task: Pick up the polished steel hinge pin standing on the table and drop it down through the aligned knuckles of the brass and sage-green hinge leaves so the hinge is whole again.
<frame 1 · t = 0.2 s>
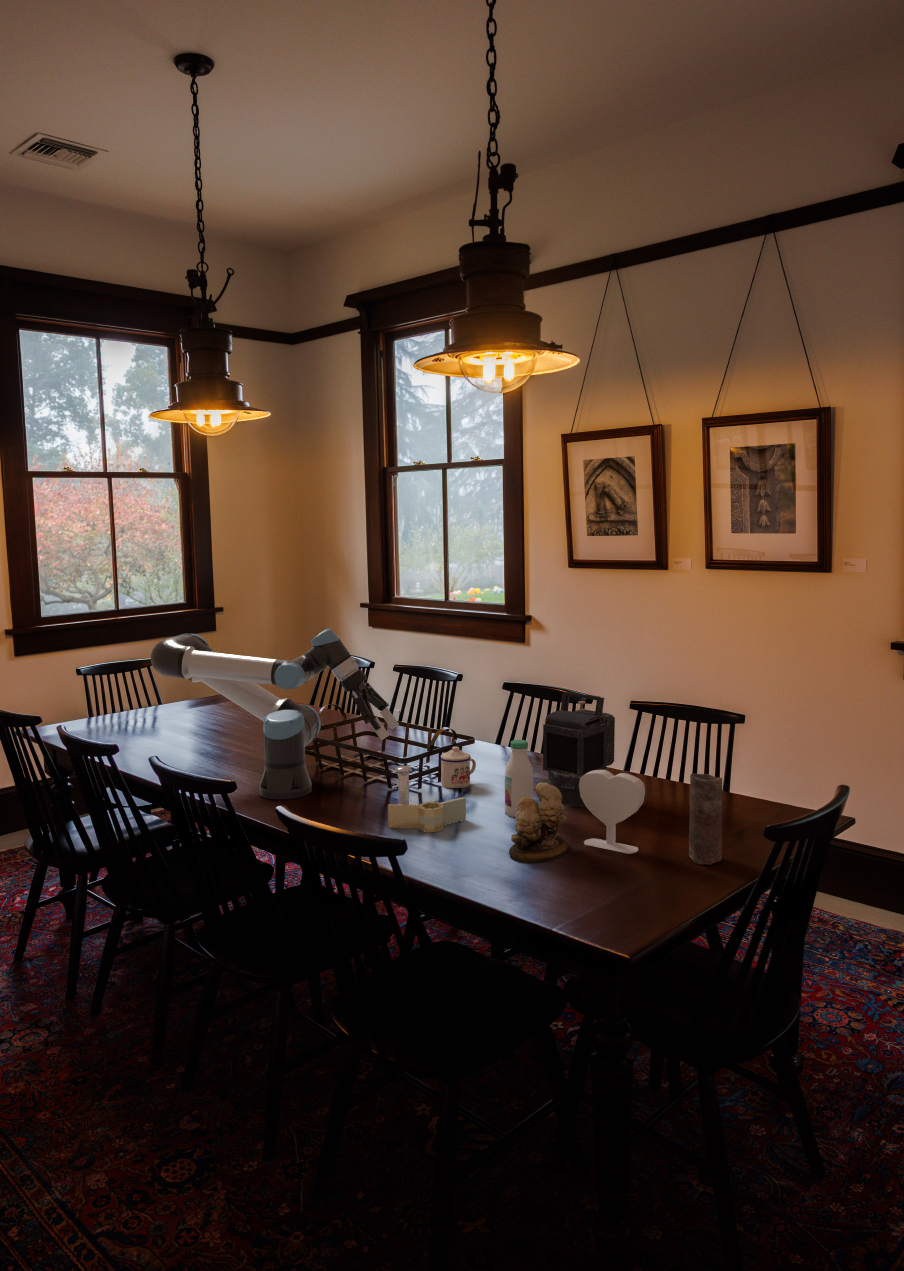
hand: (390, 732, 262), 16 cm above the table, tool tilted 35°, fingers open, 13 cm apart
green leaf: (431, 828, 222), on the table
brass leaf: (431, 828, 222), on the table
milk bottle: (519, 814, 234), on the table
teacup with lid: (459, 784, 262), on the table
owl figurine: (539, 852, 206), on the table
heart sculpture: (610, 846, 209), on the table
dark stone pillar: (704, 860, 200), on the table
hinge pin: (404, 813, 234), on the table
lantern: (577, 799, 247), on the table
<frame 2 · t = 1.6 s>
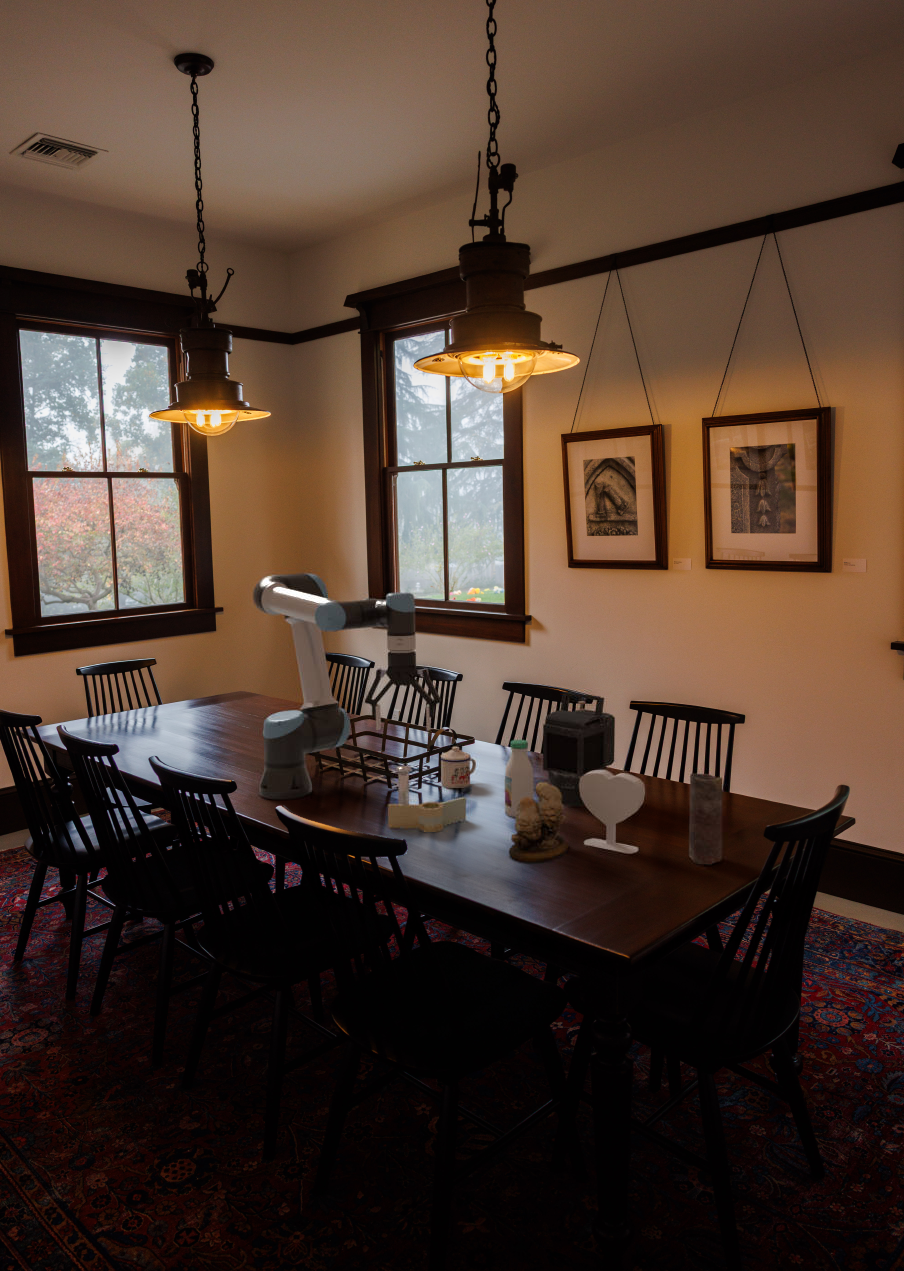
hand: (403, 729, 232), 23 cm above the table, tool pointing down, fingers open, 13 cm apart
nothing on the table moved.
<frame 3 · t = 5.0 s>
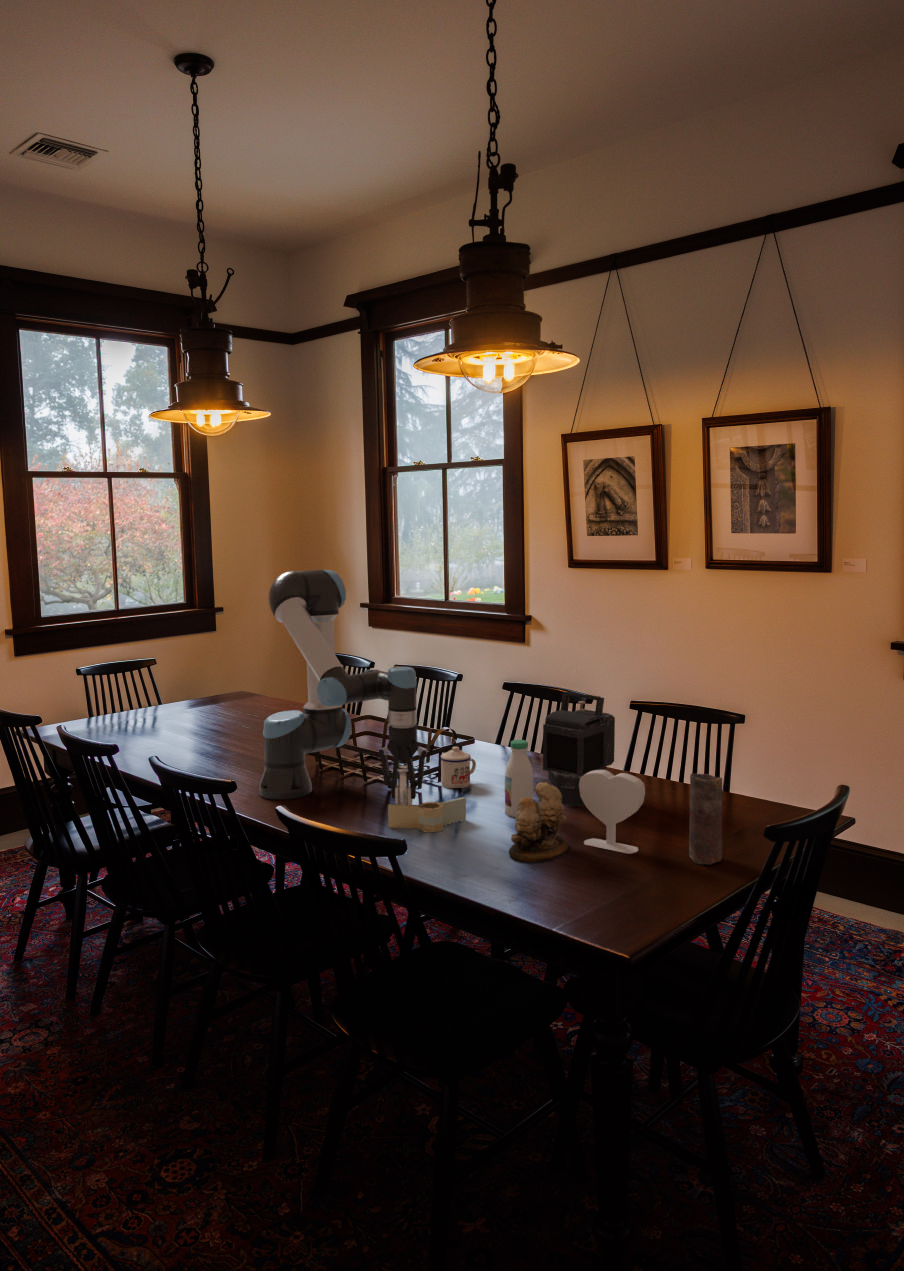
hand: (403, 810, 234), 1 cm above the table, tool pointing down, fingers closed on hinge pin, 3 cm apart
hinge pin: (403, 813, 234), on the table, touching gripper
everything else where it was.
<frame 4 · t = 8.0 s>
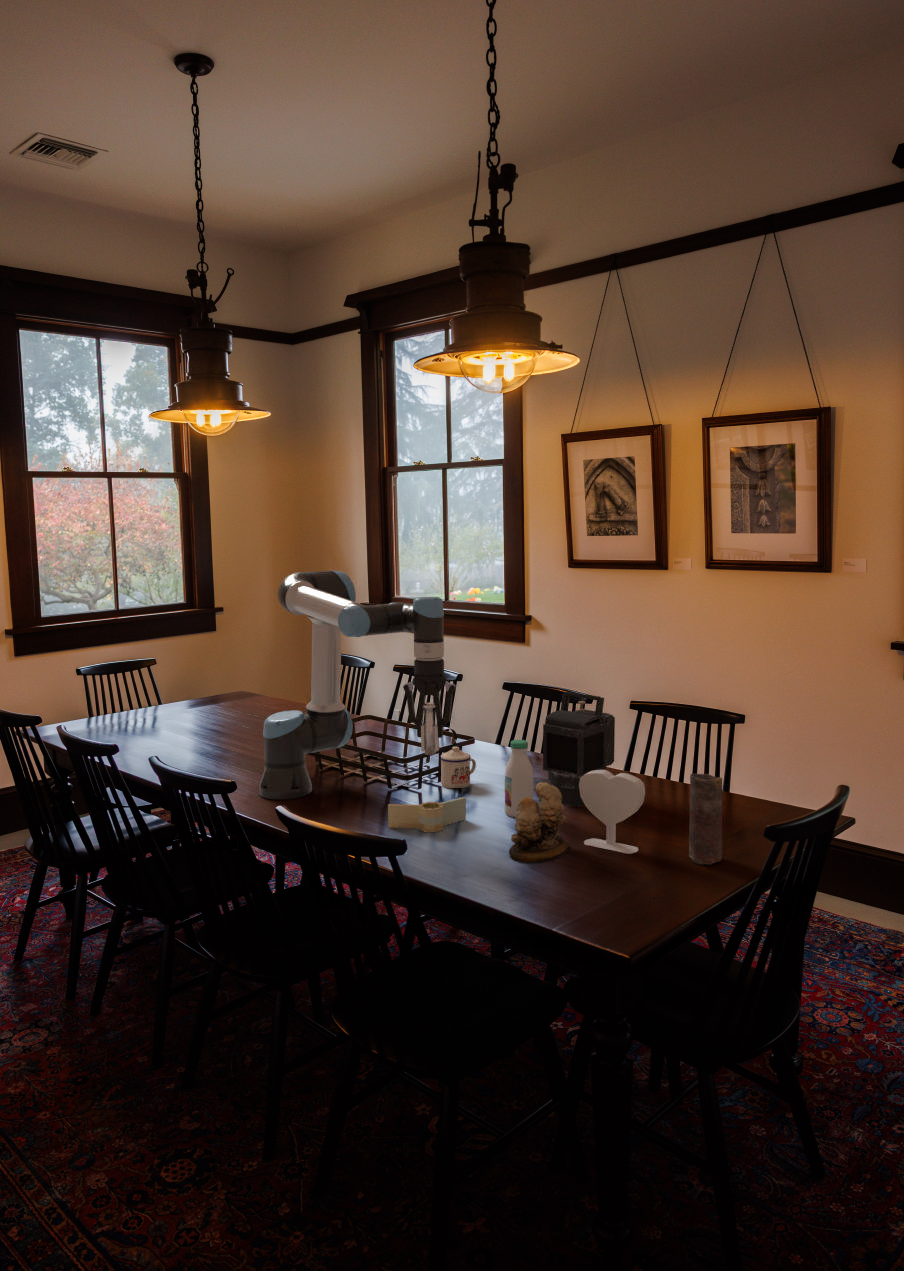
hand: (430, 749, 220), 21 cm above the table, tool pointing down, fingers closed on hinge pin, 3 cm apart
hinge pin: (430, 753, 220), point 20 cm above the table, touching gripper
everything else where it was.
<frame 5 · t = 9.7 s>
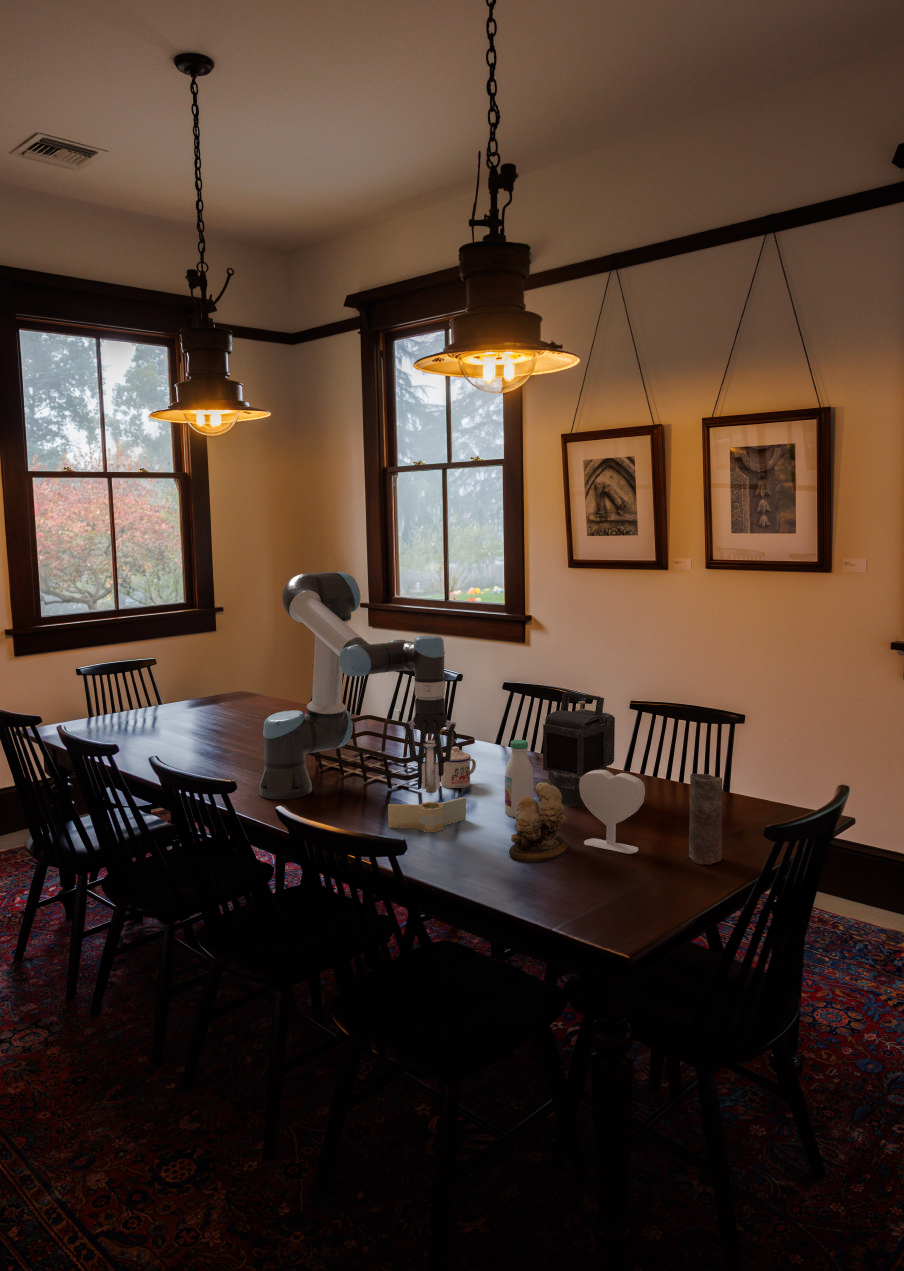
hand: (431, 787, 221), 11 cm above the table, tool pointing down, fingers closed on hinge pin, 3 cm apart
hinge pin: (431, 791, 221), point 10 cm above the table, touching gripper
everything else where it was.
when the fingers open (8 cm above the table, at t = 11.2 s): hinge pin drops 6 cm, on the table.
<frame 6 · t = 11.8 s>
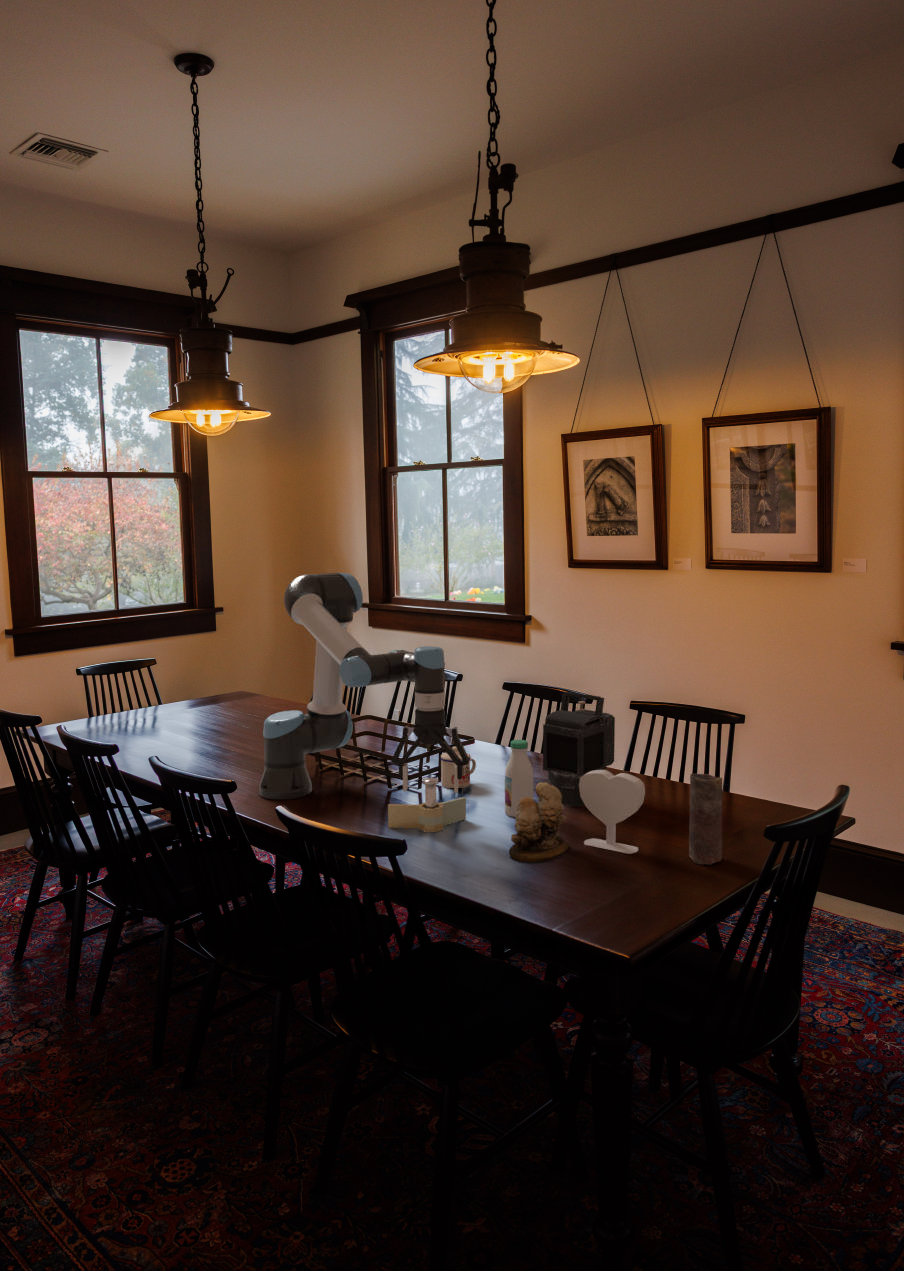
hand: (430, 790, 221), 10 cm above the table, tool pointing down, fingers open, 12 cm apart
hinge pin: (431, 828, 222), on the table
everything else where it was.
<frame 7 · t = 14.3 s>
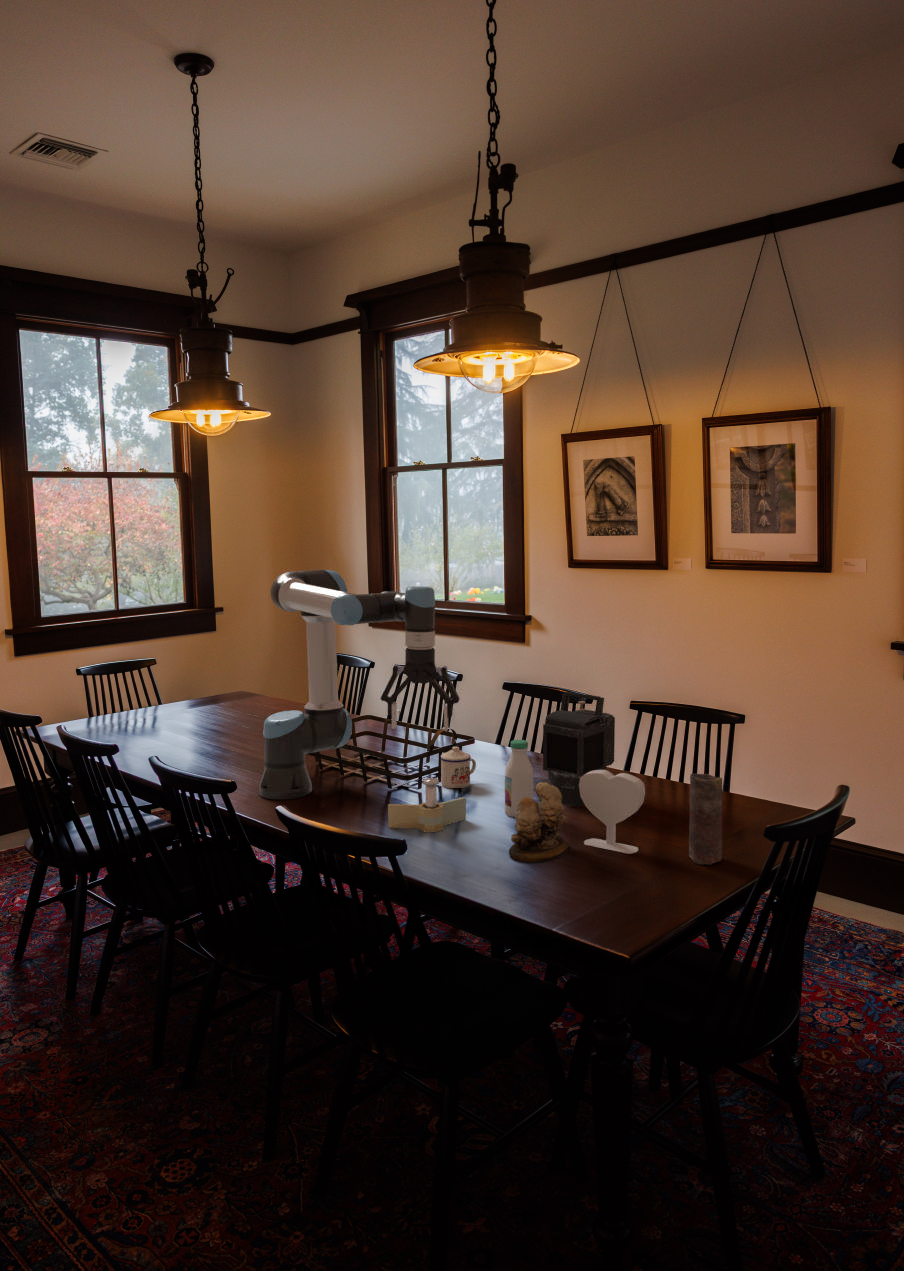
hand: (420, 728, 224), 25 cm above the table, tool pointing down, fingers open, 13 cm apart
nothing on the table moved.
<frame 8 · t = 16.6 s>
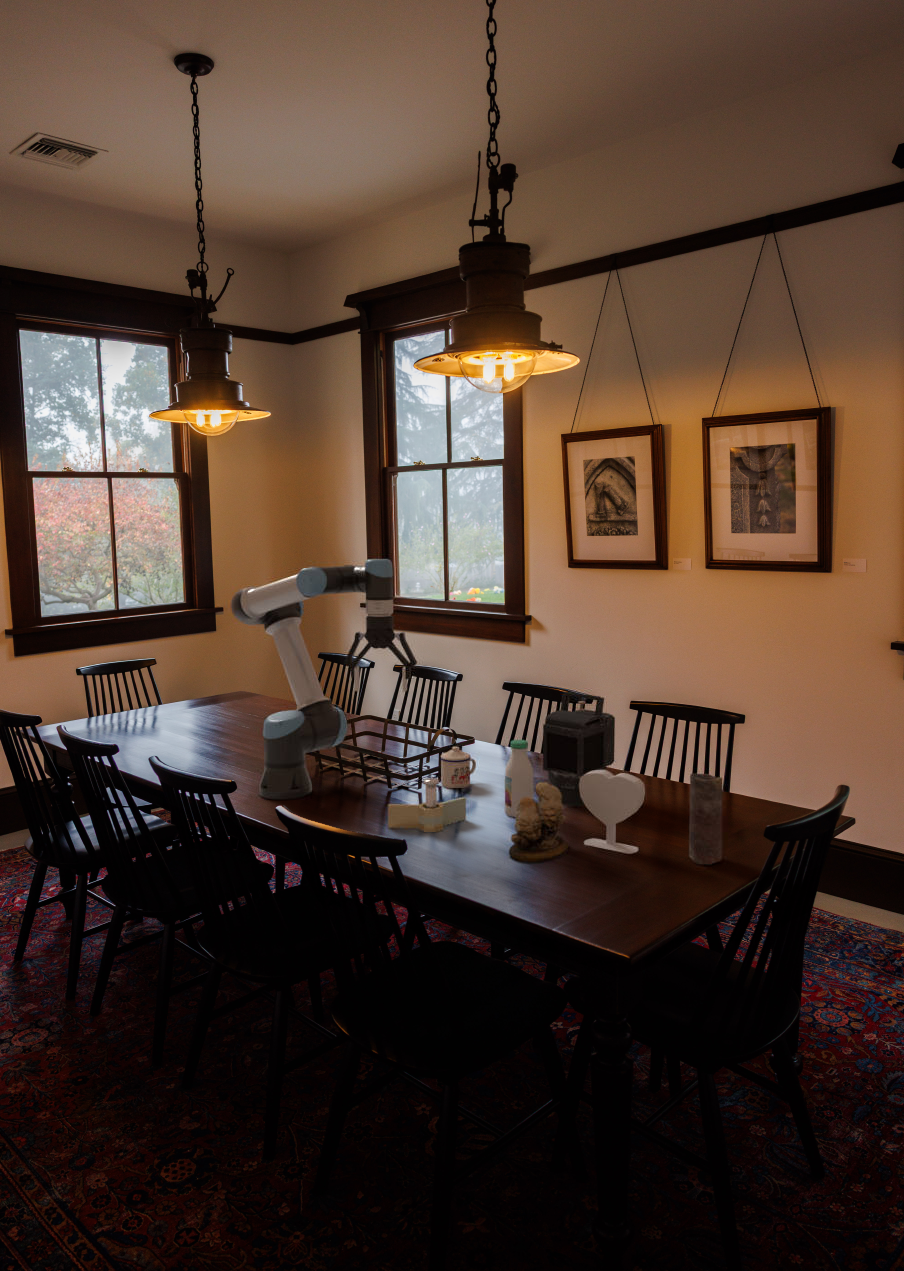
hand: (380, 690, 242), 32 cm above the table, tool pointing down, fingers open, 13 cm apart
nothing on the table moved.
at the end: hinge pin 0.1 cm off-centre on the brass leaf, point 0.0 cm above the brass leaf's base; hinge pin tilted 0°; the gripper is holding nothing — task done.
